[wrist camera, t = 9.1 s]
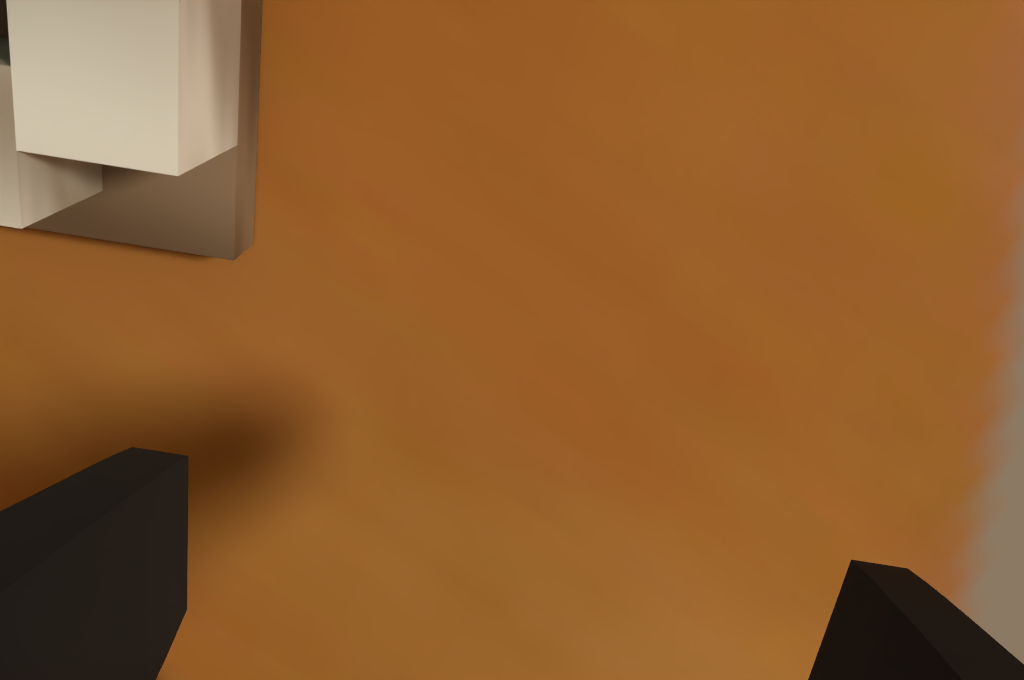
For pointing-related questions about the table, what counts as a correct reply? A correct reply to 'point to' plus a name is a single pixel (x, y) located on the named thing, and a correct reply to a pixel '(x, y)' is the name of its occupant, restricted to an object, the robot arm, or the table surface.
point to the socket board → (131, 120)
